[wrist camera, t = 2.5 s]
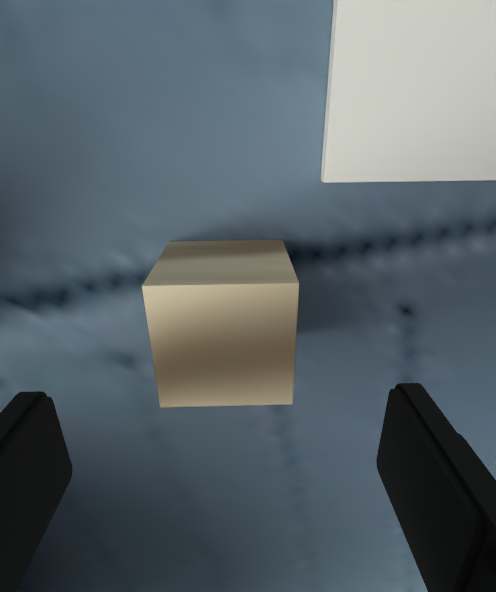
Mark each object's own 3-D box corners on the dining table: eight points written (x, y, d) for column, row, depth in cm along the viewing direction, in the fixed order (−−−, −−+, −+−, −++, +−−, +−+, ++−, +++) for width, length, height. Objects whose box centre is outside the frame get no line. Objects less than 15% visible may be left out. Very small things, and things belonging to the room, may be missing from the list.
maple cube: (169, 240, 16) (142, 285, 11) (282, 239, 16) (299, 283, 11) (179, 337, 18) (160, 407, 13) (279, 334, 18) (292, 404, 14)
